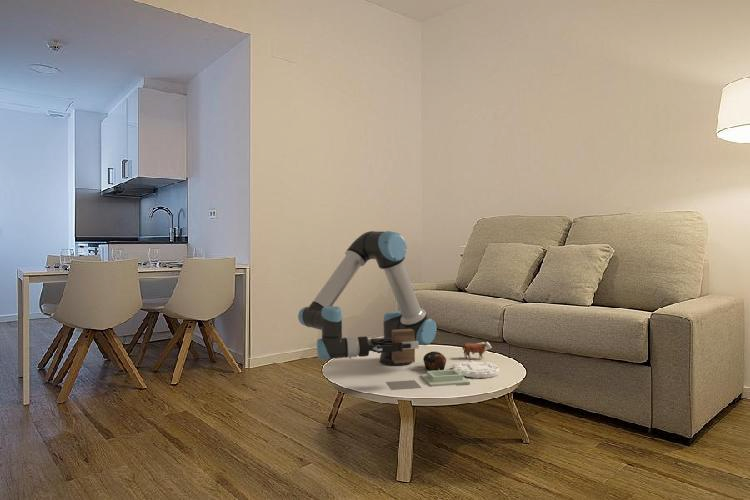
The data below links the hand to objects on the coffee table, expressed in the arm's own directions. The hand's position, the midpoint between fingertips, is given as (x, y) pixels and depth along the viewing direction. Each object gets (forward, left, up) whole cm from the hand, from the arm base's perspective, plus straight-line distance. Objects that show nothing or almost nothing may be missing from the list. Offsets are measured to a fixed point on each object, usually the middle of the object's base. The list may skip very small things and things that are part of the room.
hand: (416, 343), depth 203 cm
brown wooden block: (0, -5, -7) cm, 9 cm away
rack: (-3, +13, -16) cm, 21 cm away
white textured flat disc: (-12, +30, -17) cm, 36 cm away
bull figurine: (-32, +39, -17) cm, 53 cm away
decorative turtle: (-19, +14, -17) cm, 29 cm away
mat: (0, -5, -17) cm, 17 cm away
